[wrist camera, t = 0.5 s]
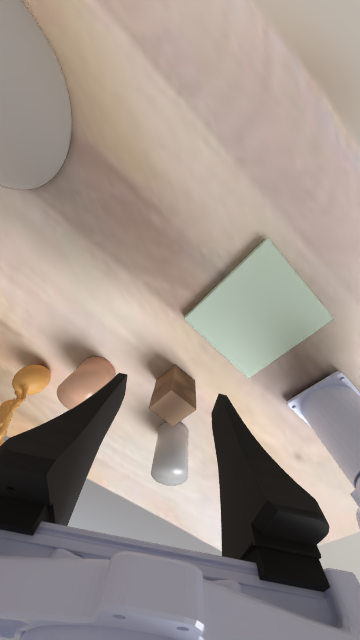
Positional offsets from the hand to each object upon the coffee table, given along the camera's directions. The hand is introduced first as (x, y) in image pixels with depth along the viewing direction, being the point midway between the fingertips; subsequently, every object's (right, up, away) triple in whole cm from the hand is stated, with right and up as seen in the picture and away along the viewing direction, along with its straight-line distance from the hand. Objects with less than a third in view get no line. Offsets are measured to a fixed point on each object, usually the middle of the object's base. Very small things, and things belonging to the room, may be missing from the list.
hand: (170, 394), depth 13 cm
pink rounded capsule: (-11, -2, +12) cm, 16 cm away
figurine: (-19, -2, +13) cm, 23 cm away
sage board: (+10, +6, +8) cm, 14 cm away
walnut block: (0, -3, +12) cm, 12 cm away
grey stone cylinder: (0, -13, +15) cm, 20 cm away
